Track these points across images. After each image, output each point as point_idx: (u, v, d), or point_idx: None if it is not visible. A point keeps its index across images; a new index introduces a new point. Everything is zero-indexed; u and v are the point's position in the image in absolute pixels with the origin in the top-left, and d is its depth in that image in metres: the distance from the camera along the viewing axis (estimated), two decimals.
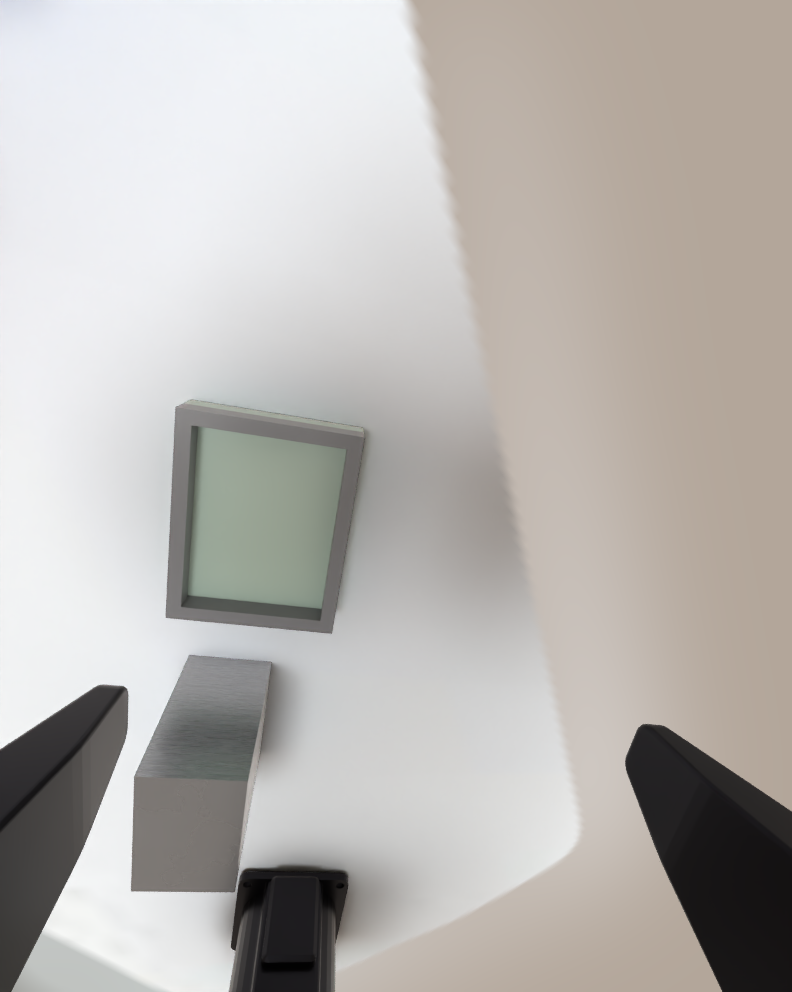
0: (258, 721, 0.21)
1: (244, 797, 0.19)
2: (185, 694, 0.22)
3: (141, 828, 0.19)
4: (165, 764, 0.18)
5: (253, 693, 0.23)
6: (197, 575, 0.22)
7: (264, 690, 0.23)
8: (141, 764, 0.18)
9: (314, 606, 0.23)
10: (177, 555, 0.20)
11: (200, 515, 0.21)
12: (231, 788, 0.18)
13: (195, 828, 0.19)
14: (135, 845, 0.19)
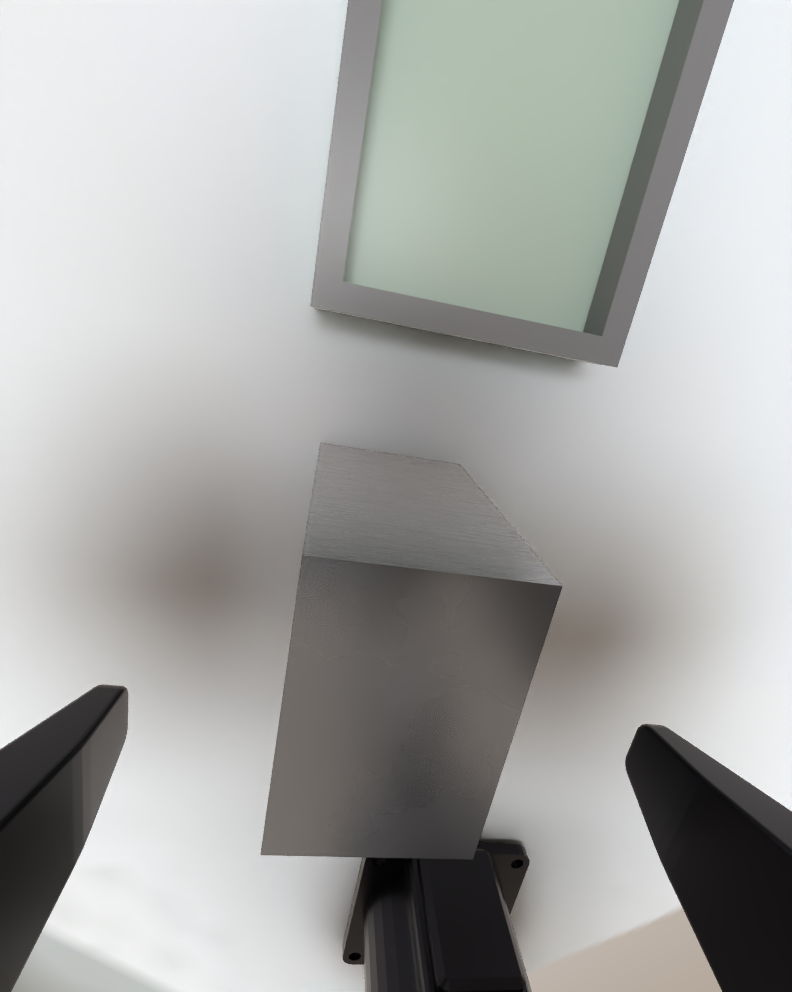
0: (500, 515, 0.10)
1: (544, 630, 0.08)
2: (342, 474, 0.11)
3: (301, 702, 0.08)
4: (361, 545, 0.08)
5: (461, 487, 0.12)
6: (365, 238, 0.11)
7: (476, 486, 0.12)
8: (308, 540, 0.07)
9: (571, 327, 0.12)
10: (348, 144, 0.10)
11: (386, 84, 0.10)
12: (522, 602, 0.08)
13: (422, 707, 0.08)
14: (282, 745, 0.08)
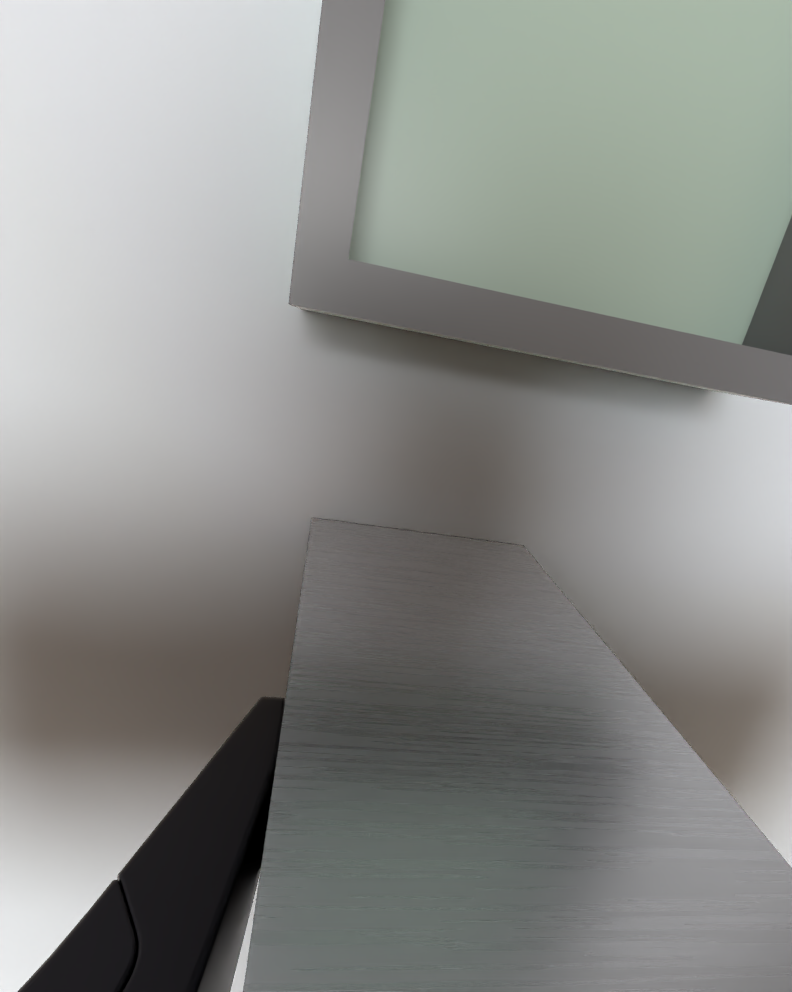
0: (643, 696, 0.06)
1: None
2: (347, 604, 0.06)
3: None
4: (406, 955, 0.03)
5: (548, 611, 0.07)
6: (388, 185, 0.06)
7: (568, 605, 0.07)
8: (257, 966, 0.03)
9: (722, 341, 0.07)
10: None
11: None
12: None
13: None
14: None
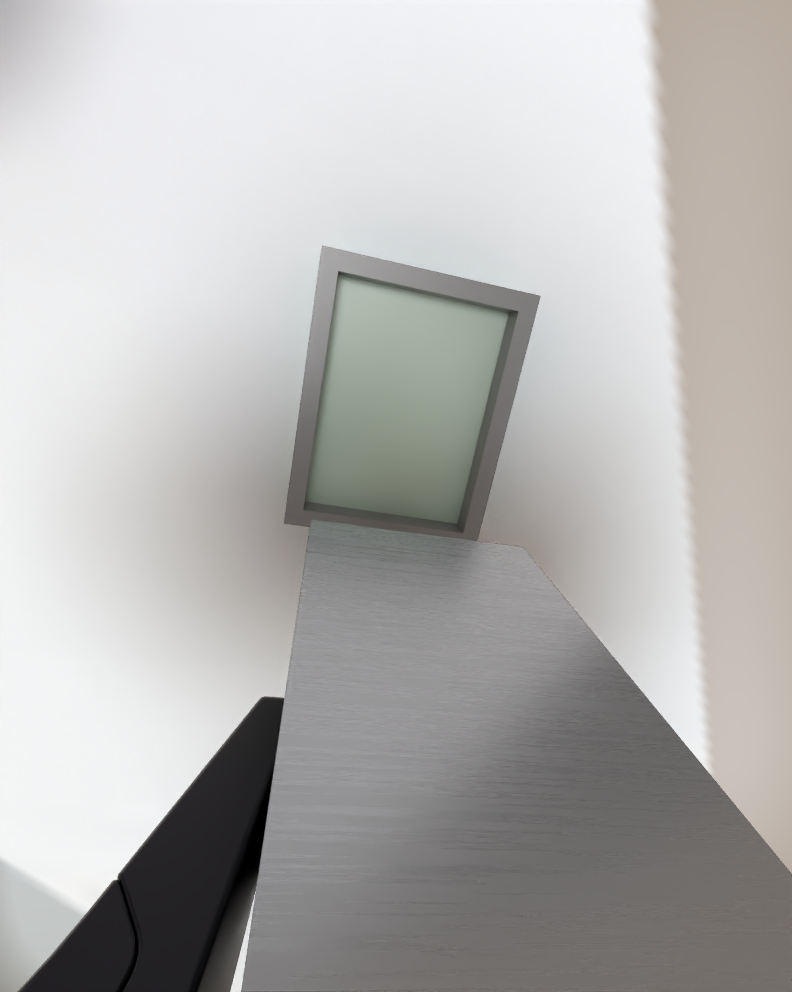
0: (642, 698, 0.06)
1: None
2: (346, 607, 0.06)
3: None
4: (404, 960, 0.03)
5: (546, 613, 0.07)
6: (318, 476, 0.18)
7: (568, 606, 0.07)
8: (254, 972, 0.03)
9: (449, 520, 0.19)
10: (305, 442, 0.17)
11: (329, 399, 0.17)
12: None
13: None
14: None
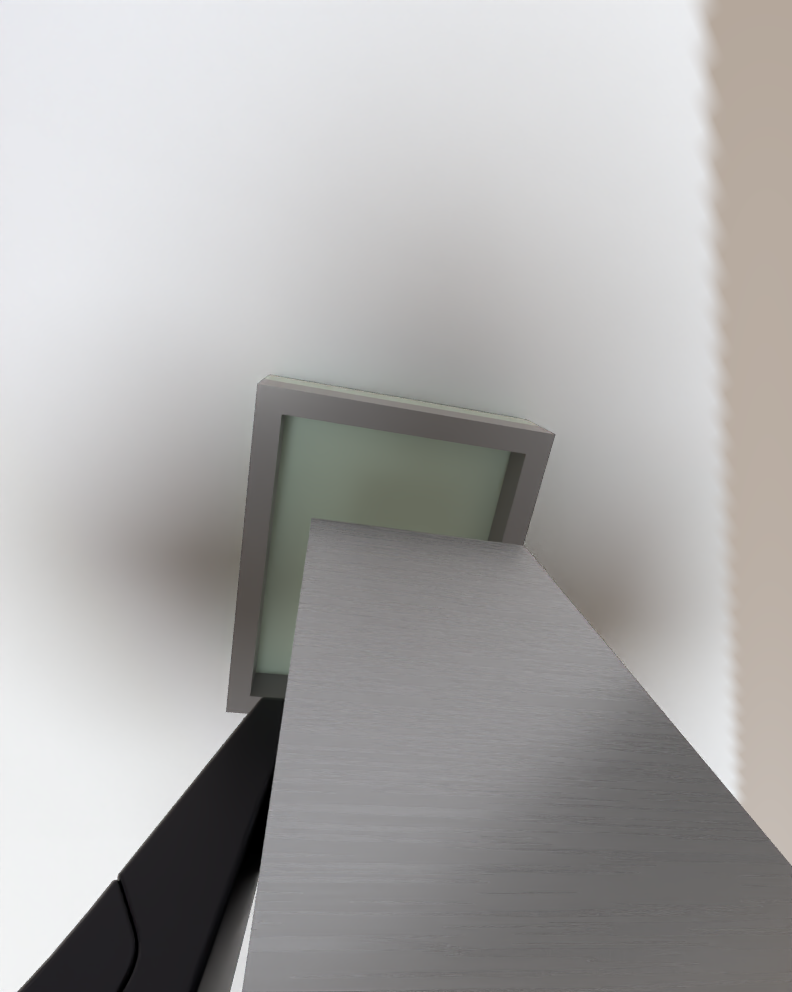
0: (645, 697, 0.06)
1: None
2: (347, 605, 0.06)
3: None
4: (406, 961, 0.03)
5: (548, 611, 0.07)
6: (271, 644, 0.14)
7: (570, 605, 0.07)
8: (256, 973, 0.03)
9: None
10: (248, 620, 0.13)
11: (281, 555, 0.14)
12: None
13: None
14: None
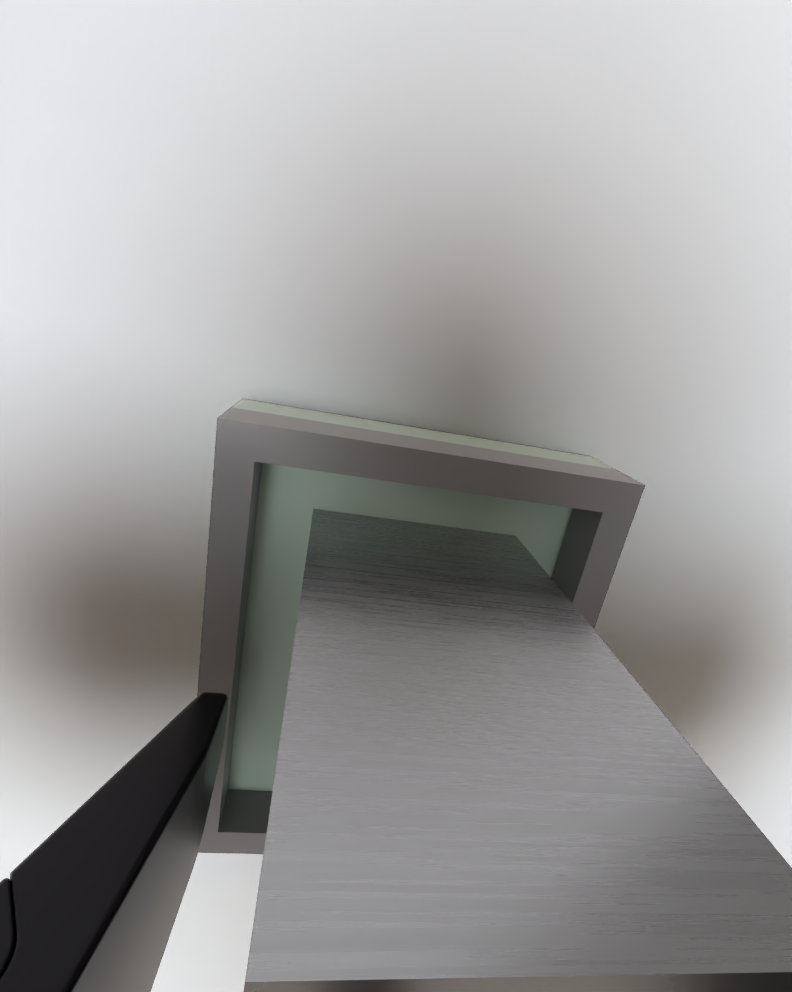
0: (622, 669, 0.06)
1: None
2: (347, 585, 0.07)
3: None
4: (397, 872, 0.03)
5: (536, 594, 0.07)
6: (249, 754, 0.11)
7: (556, 589, 0.08)
8: (269, 877, 0.03)
9: None
10: None
11: (259, 643, 0.10)
12: None
13: None
14: None
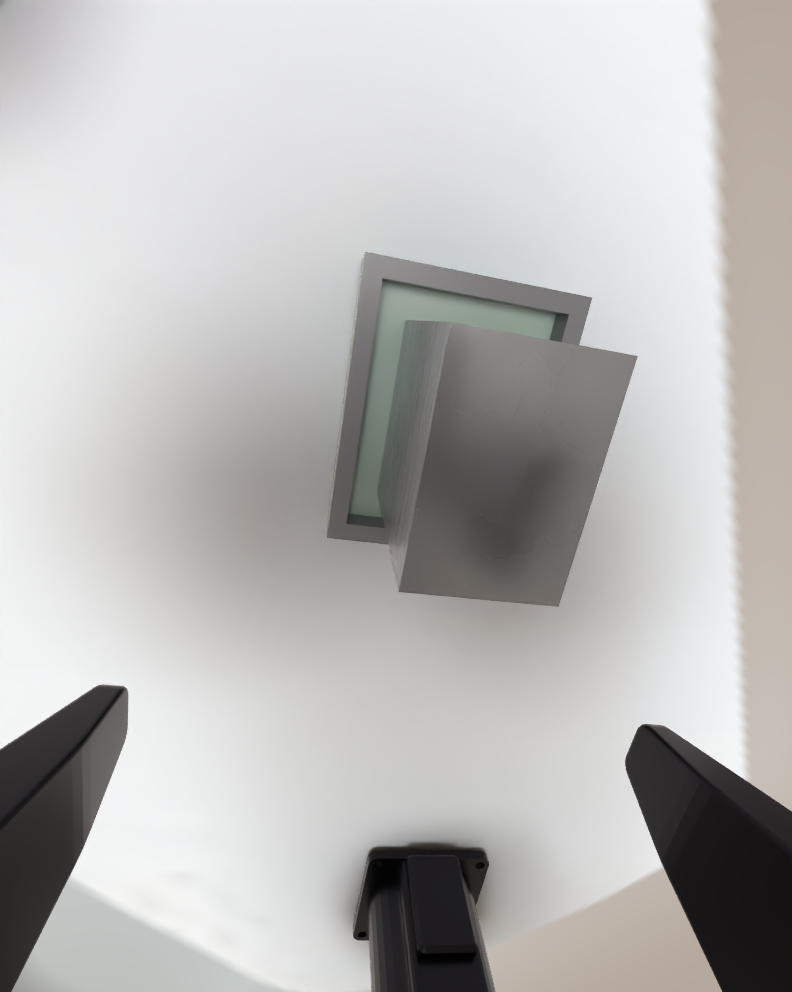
0: None
1: (622, 395, 0.10)
2: None
3: (440, 451, 0.10)
4: None
5: None
6: (359, 487, 0.18)
7: None
8: (448, 322, 0.10)
9: None
10: (348, 455, 0.16)
11: (370, 409, 0.17)
12: (607, 369, 0.10)
13: (528, 460, 0.11)
14: (422, 490, 0.11)
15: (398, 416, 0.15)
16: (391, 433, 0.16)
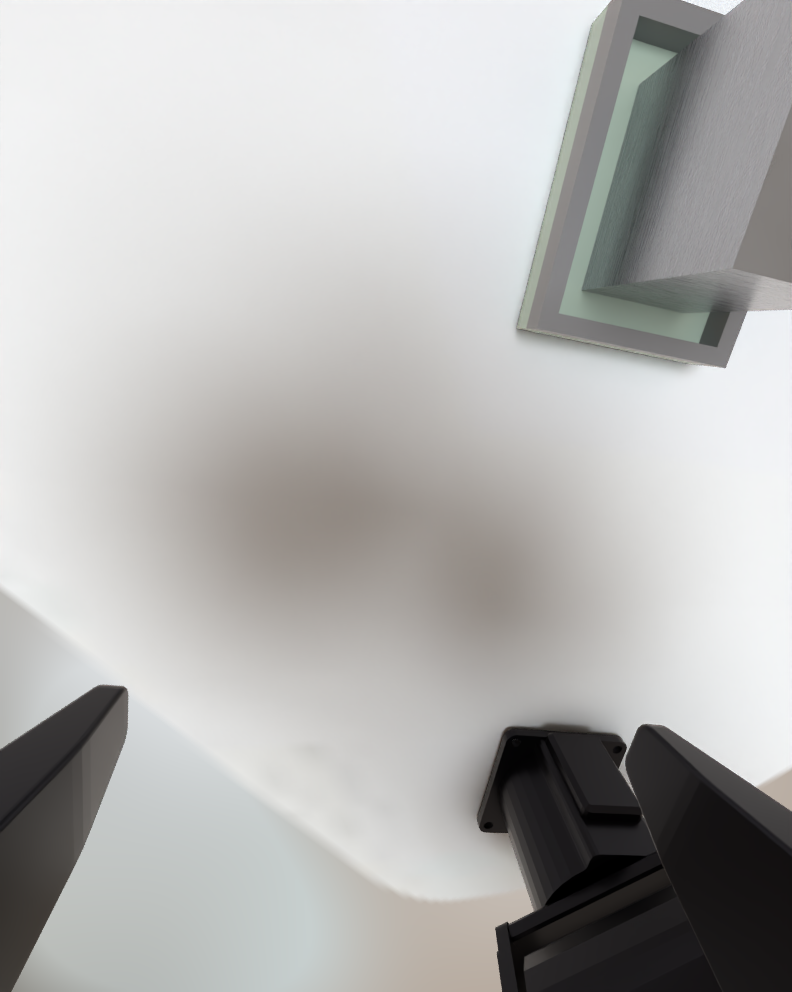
0: None
1: None
2: None
3: None
4: None
5: None
6: None
7: None
8: None
9: (690, 341, 0.18)
10: (573, 230, 0.15)
11: None
12: None
13: None
14: (785, 133, 0.10)
15: (650, 164, 0.14)
16: (624, 201, 0.15)
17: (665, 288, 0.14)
